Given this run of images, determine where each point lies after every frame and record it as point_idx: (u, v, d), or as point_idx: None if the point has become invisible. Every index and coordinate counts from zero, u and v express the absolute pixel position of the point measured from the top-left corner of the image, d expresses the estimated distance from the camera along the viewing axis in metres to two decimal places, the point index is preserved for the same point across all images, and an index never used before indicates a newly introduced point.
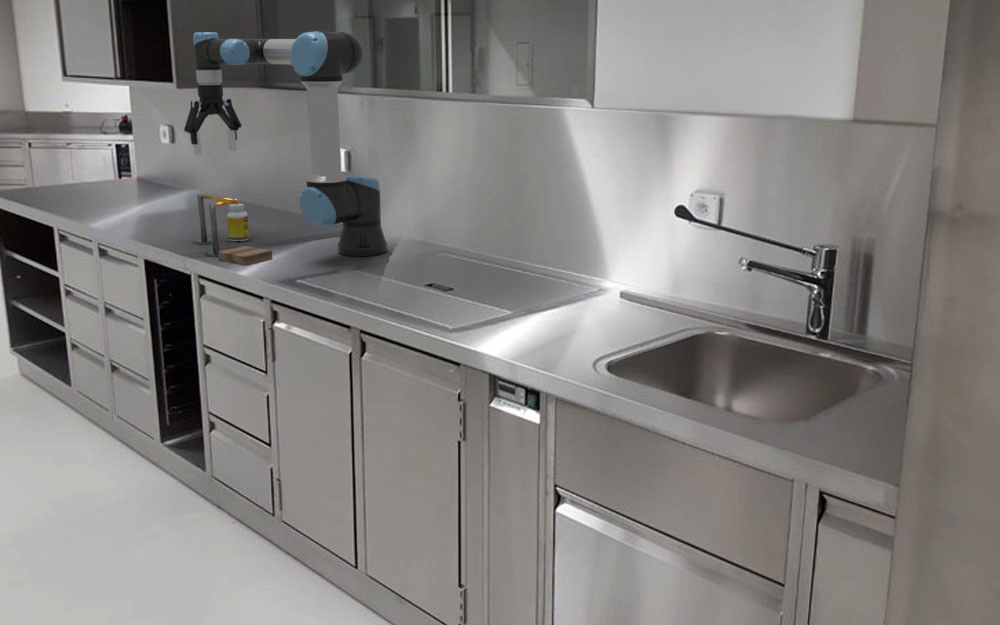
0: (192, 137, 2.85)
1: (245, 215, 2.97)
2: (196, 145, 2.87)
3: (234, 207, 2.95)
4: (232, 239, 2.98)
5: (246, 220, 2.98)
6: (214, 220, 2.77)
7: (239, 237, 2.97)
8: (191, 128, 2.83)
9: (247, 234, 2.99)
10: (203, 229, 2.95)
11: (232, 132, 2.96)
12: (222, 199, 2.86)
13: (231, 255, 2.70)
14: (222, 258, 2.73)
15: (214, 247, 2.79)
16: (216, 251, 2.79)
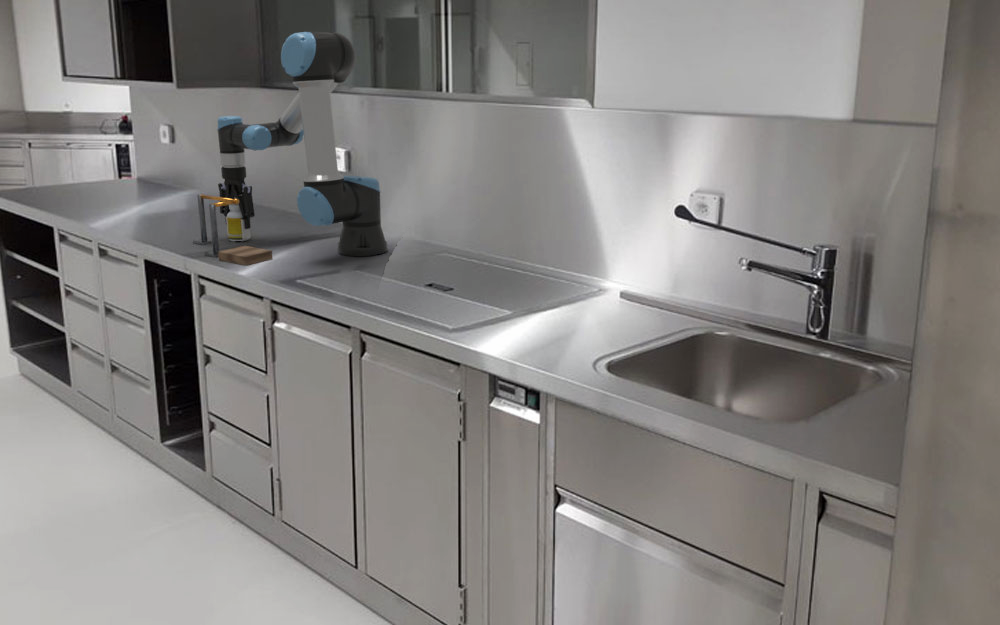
0: None
1: None
2: None
3: (234, 207, 2.95)
4: (232, 239, 2.97)
5: None
6: (214, 220, 2.77)
7: (239, 237, 2.97)
8: (221, 209, 3.00)
9: None
10: (203, 229, 2.95)
11: None
12: (222, 199, 2.86)
13: (231, 255, 2.70)
14: (222, 258, 2.73)
15: (214, 247, 2.79)
16: (216, 251, 2.79)
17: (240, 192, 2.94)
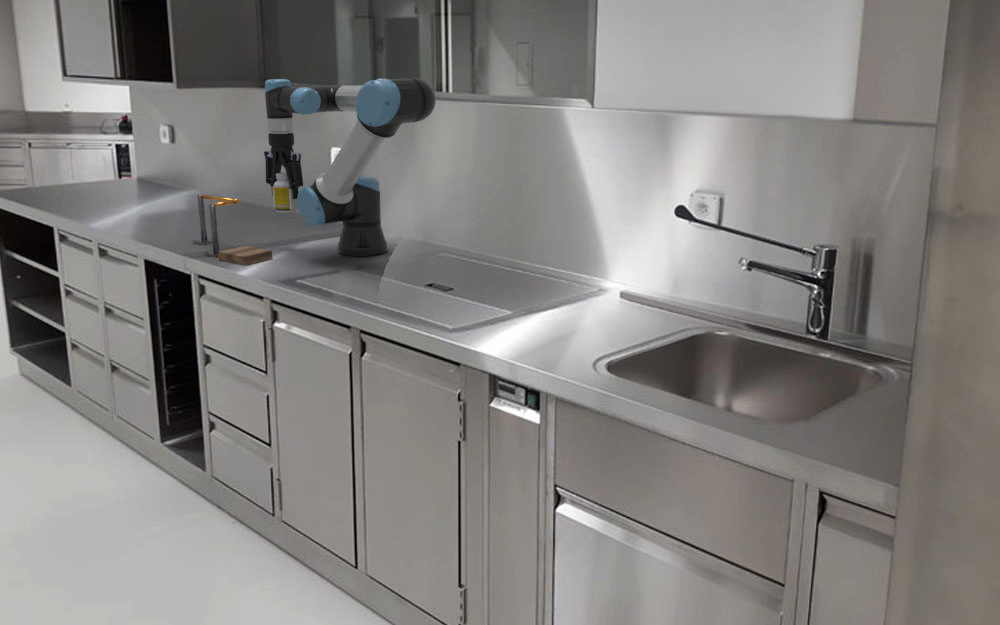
0: None
1: None
2: None
3: (281, 176, 2.79)
4: (279, 210, 2.81)
5: None
6: (214, 220, 2.77)
7: (286, 208, 2.81)
8: (267, 179, 2.84)
9: None
10: (203, 229, 2.95)
11: None
12: (222, 199, 2.86)
13: (231, 255, 2.70)
14: (222, 258, 2.73)
15: (214, 247, 2.79)
16: (216, 251, 2.79)
17: (288, 160, 2.78)
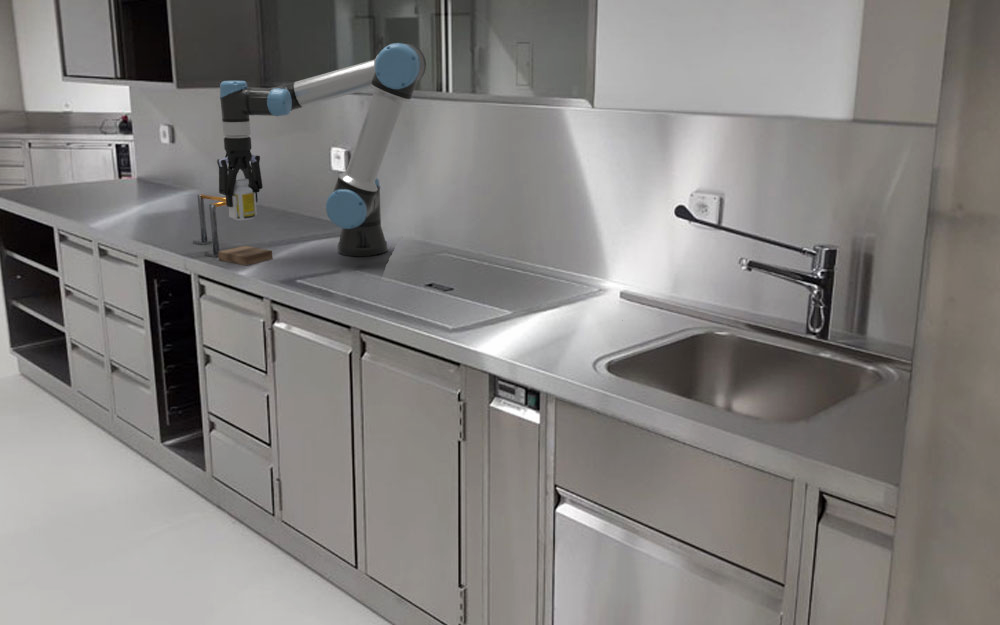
0: (227, 199, 2.66)
1: None
2: (231, 207, 2.67)
3: (248, 181, 2.68)
4: (251, 217, 2.70)
5: None
6: (214, 220, 2.77)
7: None
8: (226, 190, 2.63)
9: None
10: (203, 229, 2.95)
11: None
12: (222, 199, 2.86)
13: (231, 255, 2.70)
14: (222, 258, 2.73)
15: (214, 247, 2.79)
16: (216, 251, 2.79)
17: None
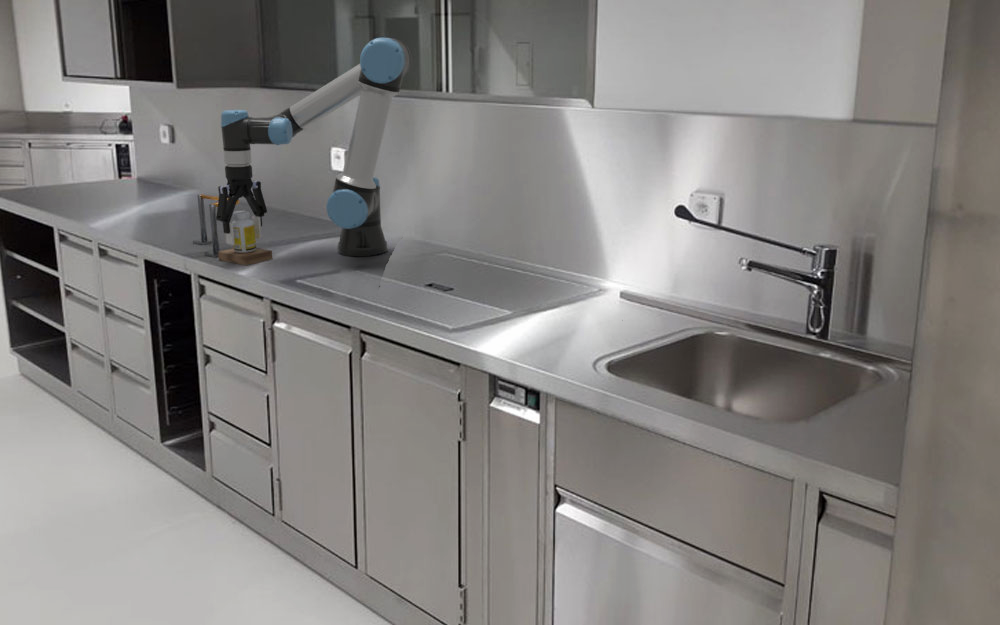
0: (225, 226, 2.66)
1: None
2: (229, 234, 2.68)
3: (249, 213, 2.70)
4: (253, 249, 2.72)
5: None
6: (214, 220, 2.77)
7: None
8: (223, 217, 2.64)
9: None
10: (203, 229, 2.95)
11: (257, 219, 2.75)
12: None
13: (231, 255, 2.70)
14: (222, 258, 2.73)
15: (214, 247, 2.79)
16: (216, 251, 2.79)
17: None
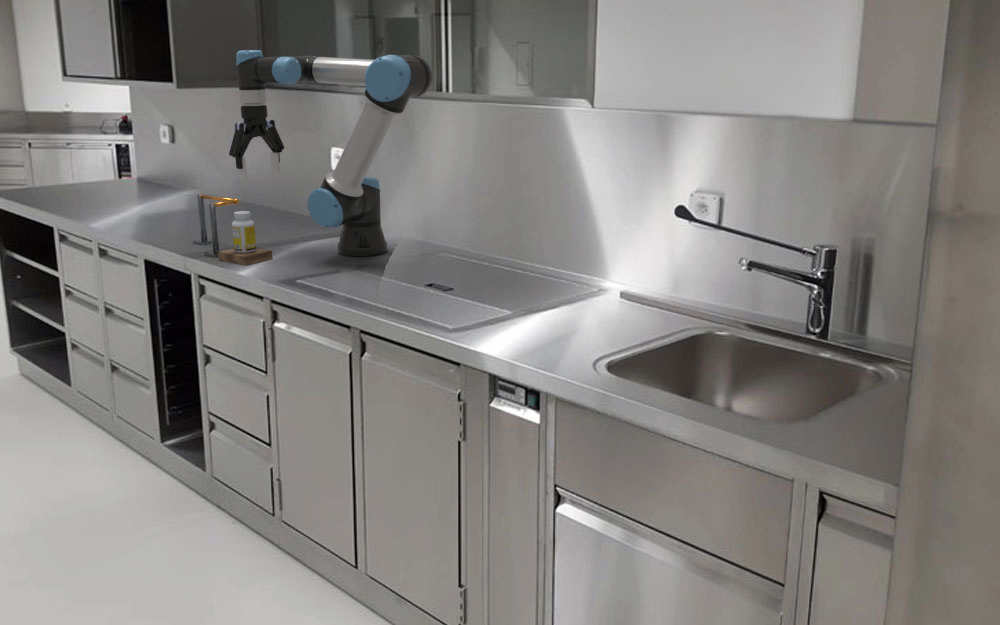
0: (237, 161, 2.69)
1: None
2: (241, 169, 2.71)
3: (250, 214, 2.71)
4: (253, 249, 2.72)
5: None
6: (214, 220, 2.77)
7: None
8: (237, 152, 2.67)
9: None
10: (203, 229, 2.95)
11: (275, 154, 2.81)
12: (222, 199, 2.86)
13: (231, 255, 2.70)
14: (222, 258, 2.73)
15: (214, 247, 2.79)
16: (216, 251, 2.79)
17: None
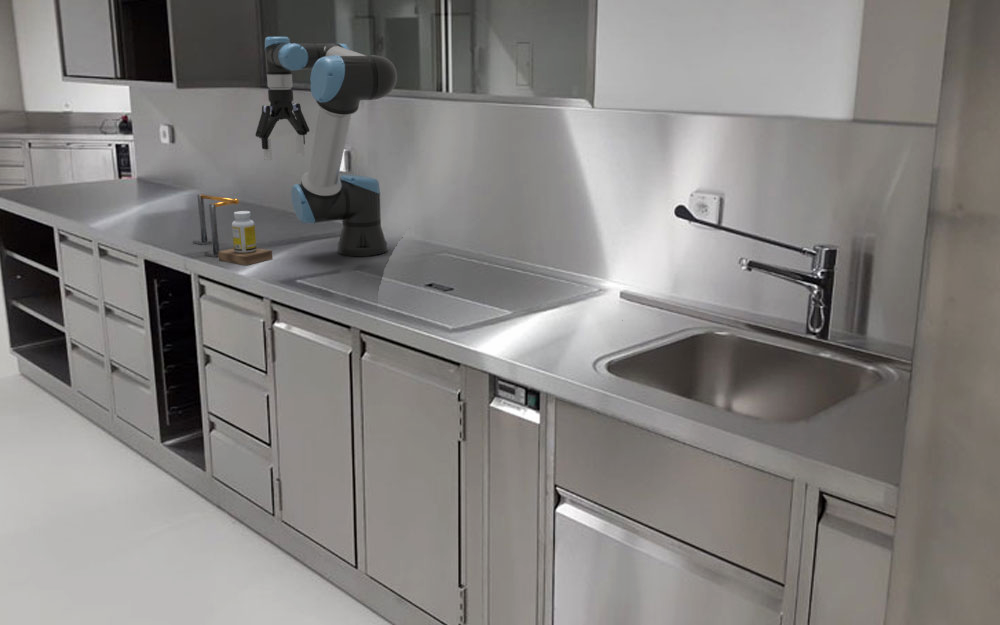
0: (263, 142, 2.84)
1: None
2: (267, 150, 2.86)
3: (250, 214, 2.71)
4: (253, 249, 2.72)
5: None
6: (214, 220, 2.77)
7: None
8: (263, 133, 2.82)
9: None
10: (203, 229, 2.95)
11: (300, 137, 2.95)
12: (222, 199, 2.86)
13: (231, 255, 2.70)
14: (222, 258, 2.73)
15: (214, 247, 2.79)
16: (216, 251, 2.79)
17: None
